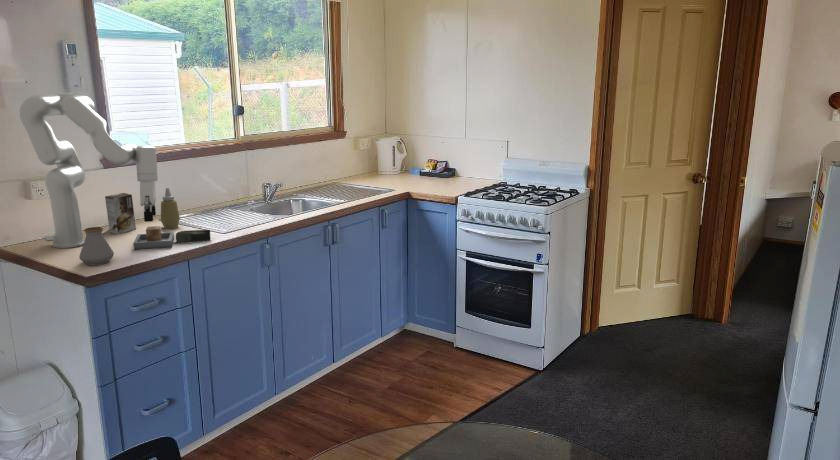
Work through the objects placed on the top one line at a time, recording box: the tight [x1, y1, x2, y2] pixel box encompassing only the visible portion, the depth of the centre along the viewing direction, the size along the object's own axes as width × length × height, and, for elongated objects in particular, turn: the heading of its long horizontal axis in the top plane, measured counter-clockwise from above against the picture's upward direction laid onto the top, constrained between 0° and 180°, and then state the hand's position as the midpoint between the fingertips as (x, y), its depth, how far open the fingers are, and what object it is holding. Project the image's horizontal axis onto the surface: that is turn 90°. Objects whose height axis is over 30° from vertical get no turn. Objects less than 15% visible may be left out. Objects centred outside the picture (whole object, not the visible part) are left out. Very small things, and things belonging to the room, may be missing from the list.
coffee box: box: [104, 192, 137, 235], centre depth 272 cm, size 9×6×16 cm
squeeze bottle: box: [160, 187, 181, 229], centre depth 279 cm, size 8×8×18 cm
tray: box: [132, 231, 175, 251], centre depth 253 cm, size 14×14×3 cm
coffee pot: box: [79, 216, 134, 266], centre depth 233 cm, size 21×12×15 cm, turn 145°
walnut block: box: [145, 225, 162, 241], centre depth 253 cm, size 5×5×6 cm
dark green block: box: [173, 229, 211, 245], centre depth 258 cm, size 5×3×15 cm
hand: (150, 218), depth 251 cm, fingers open, 9 cm apart
